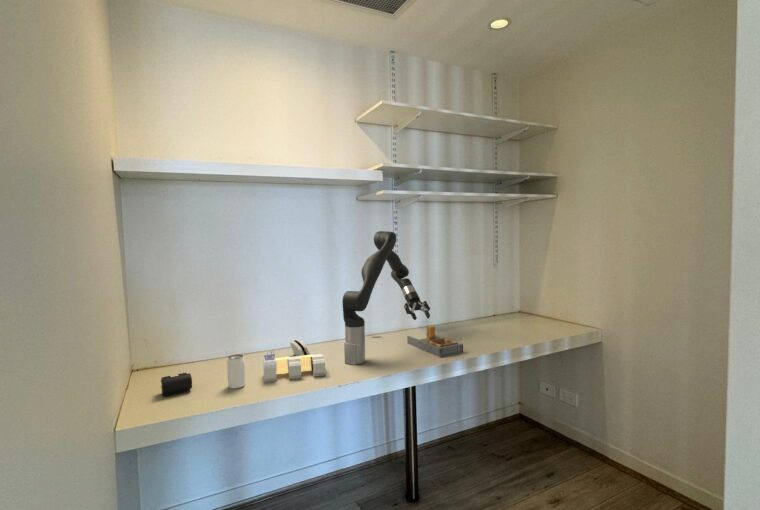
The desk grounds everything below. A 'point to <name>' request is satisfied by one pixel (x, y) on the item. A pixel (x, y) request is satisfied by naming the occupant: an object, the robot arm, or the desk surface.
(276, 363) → the diorama
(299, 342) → the hinge
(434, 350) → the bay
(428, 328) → the crate
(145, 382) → the desk surface
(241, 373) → the can
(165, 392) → the end cap
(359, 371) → the desk surface
